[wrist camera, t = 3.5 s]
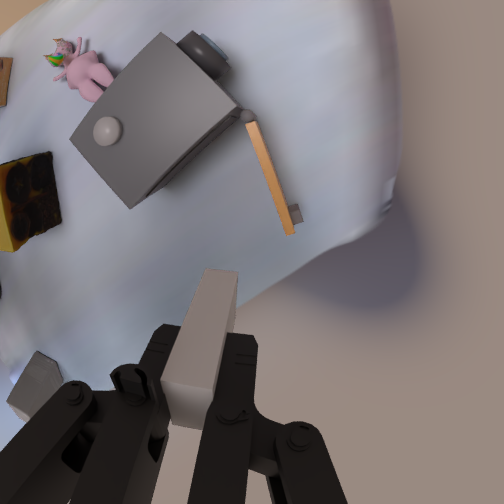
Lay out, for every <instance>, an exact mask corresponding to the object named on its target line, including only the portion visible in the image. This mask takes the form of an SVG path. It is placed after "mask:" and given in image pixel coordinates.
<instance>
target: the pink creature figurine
mask: <svg viewBox="0 0 504 504" xmlns="http://www.w3.org/2000/svg"><path fill="white" fill-rule="evenodd" d="M53 40H55V41H56V43H57V49H56V51H55V53H54V55H52V54H53V53H52V54H51V55H52V56H51V55H46V56H45V55H43V56H45V57H46V58H45V59H47V60H48V61H49V62H50V64H51V65H52V66H53V67H59V66H62V65H64V66H65V69H64V71H63V72H62V73H61V74H60V75H59V76H57V77H54V78H53V81H57V80H59V79H60V78H62V77H63V76H64V75H66V78H67V81H68V86H69V88H70V89H79V91H80V95H81V96H82V97H83V98H84V99H86V100H88V101H90V102H96V101H97V100H98V99H99V97H100V96H101V95H102V94H103V92H104V91H103V90H102V89H101V88H100V87H98V86H97V85H96V84H95V83H94V82H93V81H94V80H95V81H97V82H98V83H100V84H101V85H103V86H105V87H108V86H109V85H110V84H111V83H112V82H113V80H114V78H113V76H112V74H111V73H110V71H109V70H108V69H107V67H106V66H105V65H104V64H103V63H99V62H98V58H97V54H96V52H95V51H89V52H87V53H84V54H82V55H80V56H79V54H80V49H81V42H82V38H81V37H79V38H78V39H77V42H78V45H77V49H76V51H75V53H74V54H73V51H72V45H71V43H70V42H68V41H61V38H60V39H53Z"/></svg>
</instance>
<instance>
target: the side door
mask: <svg viewBox="0 0 504 504" xmlns="http://www.w3.org/2000/svg"><path fill="white" fill-rule="evenodd" d="M240 117H241V119H242V120H243V121H245V122H250V123H247V124H245V125H246V128H247V130H248V133H249V136H250V138H251V141H252V143H253V146H254V148H255V151H256V154H257V156H258V159H259V162H260V164H261V167H262V170H263V172H264V175H265V178H266V180H267V183H268V186H269V189H270V191H271V194H272V197H273V200H274V202H275V205H276V208H277V211H278V214H279V216H280V219H281V222H282V225H283V228H284V231H285V234H286V236H287V235H291V234H294V233H295V230H294V226H293V225H295V224H298V223H301V222H304V221H303V218H302V215H301V212H300V209H299V206H298V204H295V205H292V206H288V204H287V202H286V199H285V196H284V193H283V190H282V187H281V184H280V181H279V179H278V176H277V173H276V170H275V168H274V165H273V162H272V159H271V157H270V154H269V151H268V149H267V146H266V143H265V141H264V138H263V135H262V133H261V130H260V127H259V125H258V122H256V115H255V114H254V113H253V112H252V111H251V110H243V111H242V112H241V115H240Z"/></svg>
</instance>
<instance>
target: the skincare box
mask: <svg viewBox="0 0 504 504" xmlns="http://www.w3.org/2000/svg"><path fill="white" fill-rule="evenodd" d="M62 382H63V379H62V377H61V374H60V372H59V369H58V366H57V364H56V362H55V361H53V360H51V359H49V358H47V357H46V356H44V355H42V354H41V353H39V352H38V351H36V352H35V353H34V355H33V356H32V358H31V359H30V361H29V363H28V364H27V366H26V367H25V369H24V371H23V372H22V374H21V376H20V377H19V379H18V381H17V383H16V384H15V386H14V388H13V390H12V391H11V393H10V395H9V397H8V399H7V401H6V402H7V403H8V404H9V406H10V407H11V408H12V410H13V411H14V412H15V413H16V415H17V416H18V417H19V418H20V419H22V420H23V421H25V422H26V423H27V422H28V421H29V420H30V419H31V418H32V417H33V415H34V414H35V413H36V412H37V411H38V410H39V409H40V408H41V407H42V406H43V405H44V404H45V403H46V402H47V401H48V400H49V399H50V398H51V396H52V395H53V394H54V393H55V392H56V391H57V390H58V389H59V388H60V386H61V384H62Z"/></svg>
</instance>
